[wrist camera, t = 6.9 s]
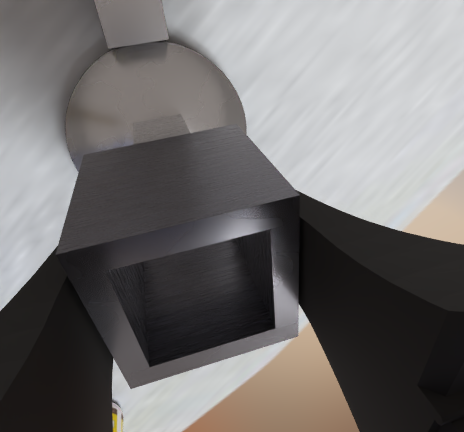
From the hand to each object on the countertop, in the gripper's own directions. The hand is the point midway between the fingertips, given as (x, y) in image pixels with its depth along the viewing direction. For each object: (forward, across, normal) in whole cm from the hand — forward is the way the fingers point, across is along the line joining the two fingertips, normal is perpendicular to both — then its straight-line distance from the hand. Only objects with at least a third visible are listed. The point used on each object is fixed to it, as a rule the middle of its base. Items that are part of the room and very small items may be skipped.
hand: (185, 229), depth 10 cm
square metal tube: (+2, 0, 0) cm, 2 cm away
